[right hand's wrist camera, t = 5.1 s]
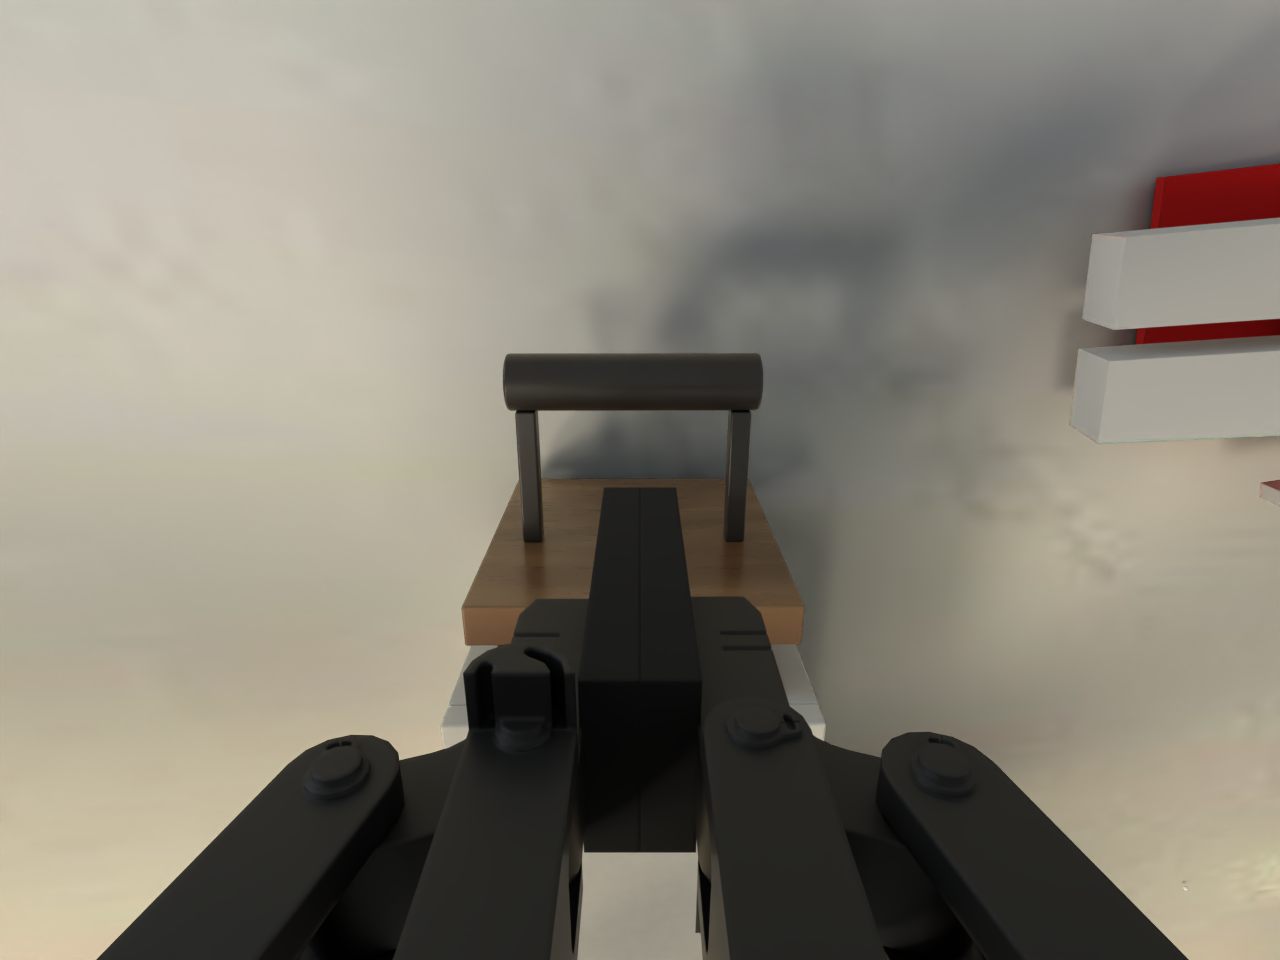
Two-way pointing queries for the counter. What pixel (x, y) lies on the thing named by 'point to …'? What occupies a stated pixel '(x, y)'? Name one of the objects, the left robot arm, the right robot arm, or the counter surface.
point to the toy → (1188, 317)
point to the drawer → (570, 508)
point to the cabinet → (644, 856)
